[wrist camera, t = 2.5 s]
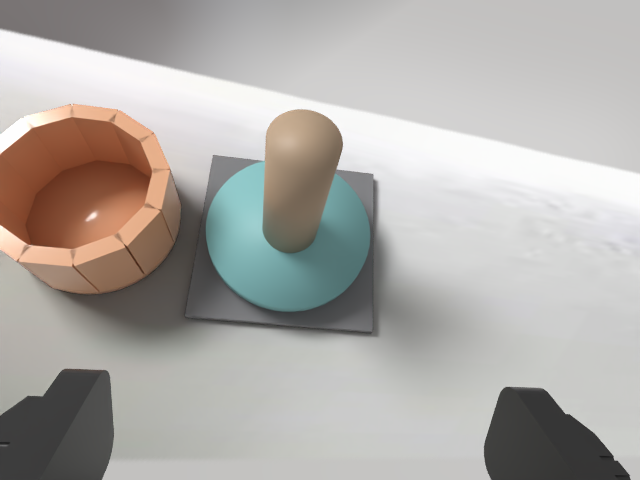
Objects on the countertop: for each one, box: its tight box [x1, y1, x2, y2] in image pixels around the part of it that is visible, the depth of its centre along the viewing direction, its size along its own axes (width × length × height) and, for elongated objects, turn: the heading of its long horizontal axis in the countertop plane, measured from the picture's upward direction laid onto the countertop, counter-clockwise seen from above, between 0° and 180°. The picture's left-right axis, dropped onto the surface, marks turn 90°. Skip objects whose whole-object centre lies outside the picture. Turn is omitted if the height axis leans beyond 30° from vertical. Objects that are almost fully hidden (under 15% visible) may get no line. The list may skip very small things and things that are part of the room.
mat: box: [185, 155, 373, 333], centre depth 26 cm, size 10×10×1 cm
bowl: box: [0, 104, 181, 295], centre depth 23 cm, size 9×9×4 cm
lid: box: [206, 110, 370, 312], centre depth 22 cm, size 9×9×9 cm
